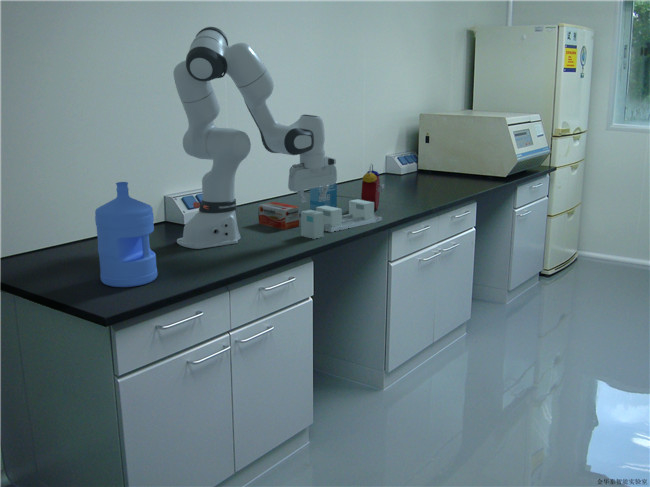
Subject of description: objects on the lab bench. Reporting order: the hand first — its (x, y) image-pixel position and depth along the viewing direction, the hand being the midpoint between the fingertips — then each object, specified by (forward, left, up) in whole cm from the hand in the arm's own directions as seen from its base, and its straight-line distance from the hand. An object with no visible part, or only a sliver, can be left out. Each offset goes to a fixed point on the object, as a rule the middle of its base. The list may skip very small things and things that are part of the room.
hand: (313, 200), depth 234 cm
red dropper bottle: (+50, +16, -13) cm, 54 cm away
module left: (+14, +6, -12) cm, 19 cm away
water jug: (-72, -1, -14) cm, 74 cm away
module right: (+32, +6, -12) cm, 34 cm away
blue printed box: (+34, +30, -14) cm, 47 cm away
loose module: (0, 0, -13) cm, 13 cm away
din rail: (+23, +6, -13) cm, 27 cm away
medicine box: (+2, +22, -14) cm, 26 cm away
